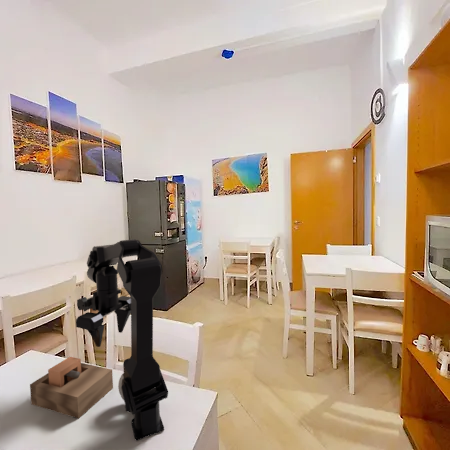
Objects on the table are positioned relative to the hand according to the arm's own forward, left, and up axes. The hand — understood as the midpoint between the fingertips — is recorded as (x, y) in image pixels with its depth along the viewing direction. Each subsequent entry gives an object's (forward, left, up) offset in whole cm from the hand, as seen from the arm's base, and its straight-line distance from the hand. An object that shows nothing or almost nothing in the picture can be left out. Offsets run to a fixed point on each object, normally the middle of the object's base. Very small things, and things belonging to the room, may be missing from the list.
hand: (109, 339), depth 84 cm
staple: (-2, +12, -10) cm, 16 cm away
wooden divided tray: (-4, +10, -12) cm, 16 cm away
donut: (-16, -5, -12) cm, 21 cm away
